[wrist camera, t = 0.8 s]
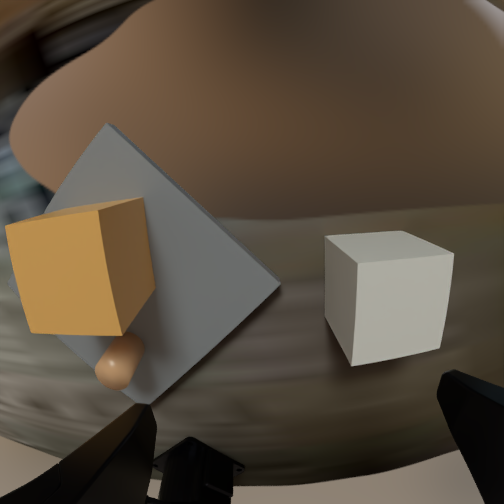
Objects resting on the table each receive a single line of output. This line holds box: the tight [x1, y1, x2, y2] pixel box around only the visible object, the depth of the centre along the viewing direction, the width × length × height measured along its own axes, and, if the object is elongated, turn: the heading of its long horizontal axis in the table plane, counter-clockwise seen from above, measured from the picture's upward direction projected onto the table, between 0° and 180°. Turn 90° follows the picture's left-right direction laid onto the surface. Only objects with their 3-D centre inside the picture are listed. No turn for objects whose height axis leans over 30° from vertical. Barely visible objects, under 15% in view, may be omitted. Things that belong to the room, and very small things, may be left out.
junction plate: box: [8, 123, 281, 404], centre depth 17 cm, size 14×14×5 cm
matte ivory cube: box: [324, 231, 454, 366], centre depth 17 cm, size 5×5×6 cm
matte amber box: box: [5, 197, 156, 336], centre depth 15 cm, size 5×5×6 cm
